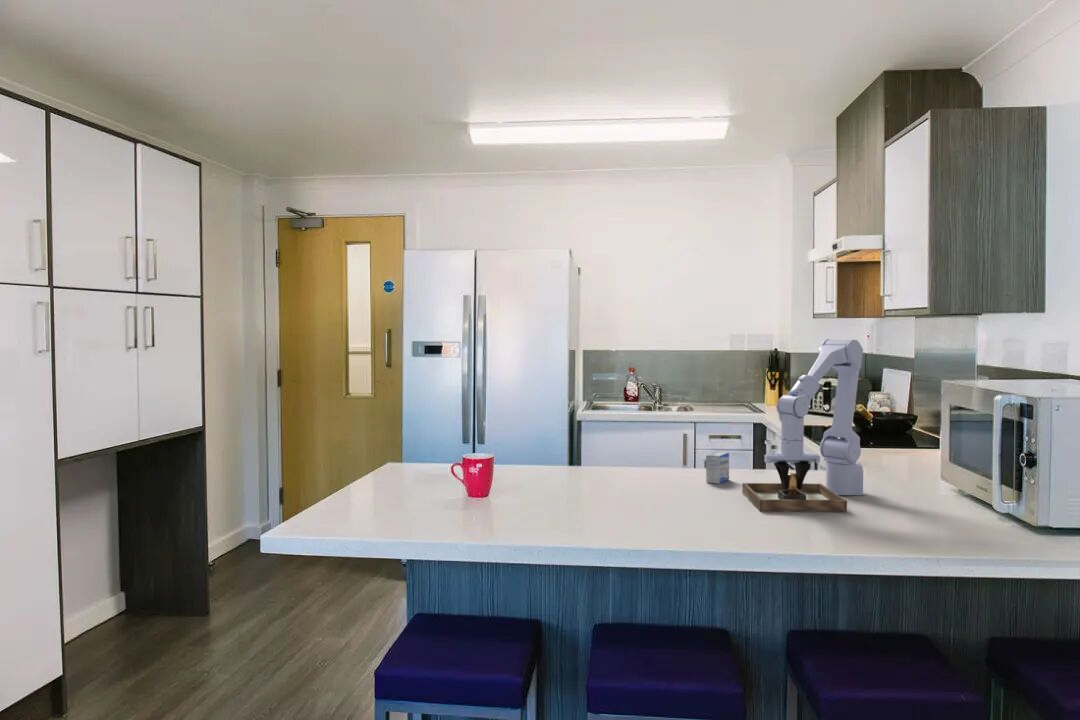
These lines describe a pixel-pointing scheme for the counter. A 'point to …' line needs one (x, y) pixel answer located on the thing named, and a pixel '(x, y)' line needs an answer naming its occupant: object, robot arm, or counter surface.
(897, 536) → the counter surface
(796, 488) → the bronze metal cylinder
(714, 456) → the medicine box
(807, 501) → the walled box
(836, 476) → the robot arm
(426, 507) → the counter surface
